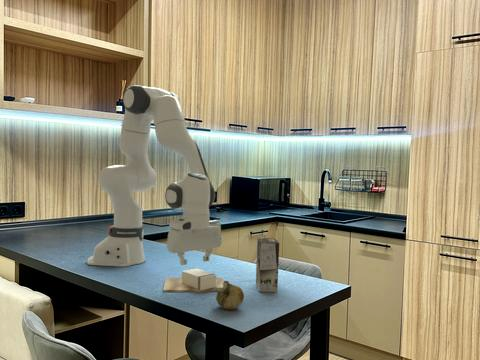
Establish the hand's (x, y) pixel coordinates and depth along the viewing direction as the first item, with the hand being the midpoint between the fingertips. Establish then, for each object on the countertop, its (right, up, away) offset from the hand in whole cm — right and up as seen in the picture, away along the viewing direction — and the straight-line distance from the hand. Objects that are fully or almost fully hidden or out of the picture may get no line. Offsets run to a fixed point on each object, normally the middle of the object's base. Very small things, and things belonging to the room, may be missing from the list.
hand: (195, 262), depth 144 cm
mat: (0, -8, 0) cm, 8 cm away
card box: (-2, -5, +3) cm, 6 cm away
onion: (+12, -9, -20) cm, 25 cm away
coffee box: (+24, -9, 0) cm, 25 cm away
